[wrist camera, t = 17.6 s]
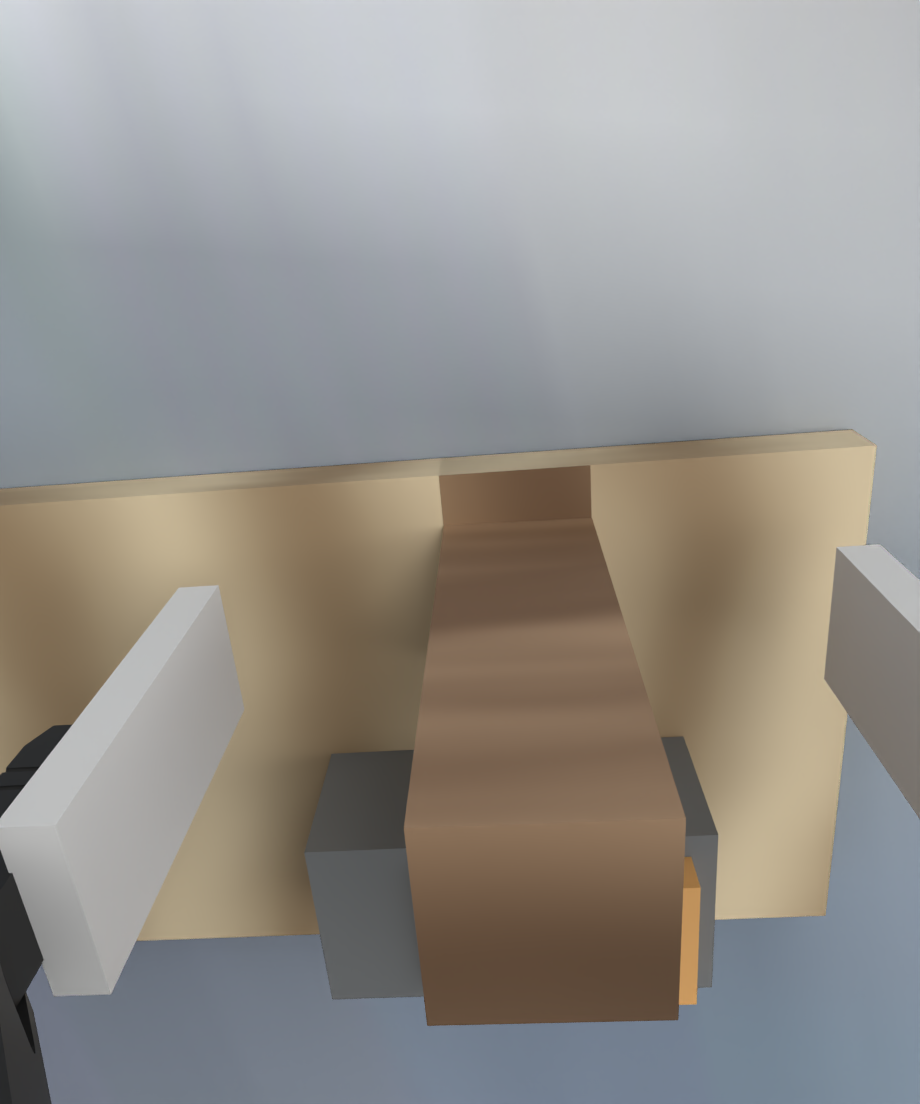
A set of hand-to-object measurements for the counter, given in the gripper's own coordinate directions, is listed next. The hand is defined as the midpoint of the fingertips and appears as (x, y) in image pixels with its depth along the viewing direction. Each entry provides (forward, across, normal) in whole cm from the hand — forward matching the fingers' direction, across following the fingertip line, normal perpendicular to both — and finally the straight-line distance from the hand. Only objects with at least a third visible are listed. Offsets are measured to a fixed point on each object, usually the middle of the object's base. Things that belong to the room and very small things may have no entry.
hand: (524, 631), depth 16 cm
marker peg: (+2, 0, 0) cm, 2 cm away
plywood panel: (+3, -5, -4) cm, 7 cm away
